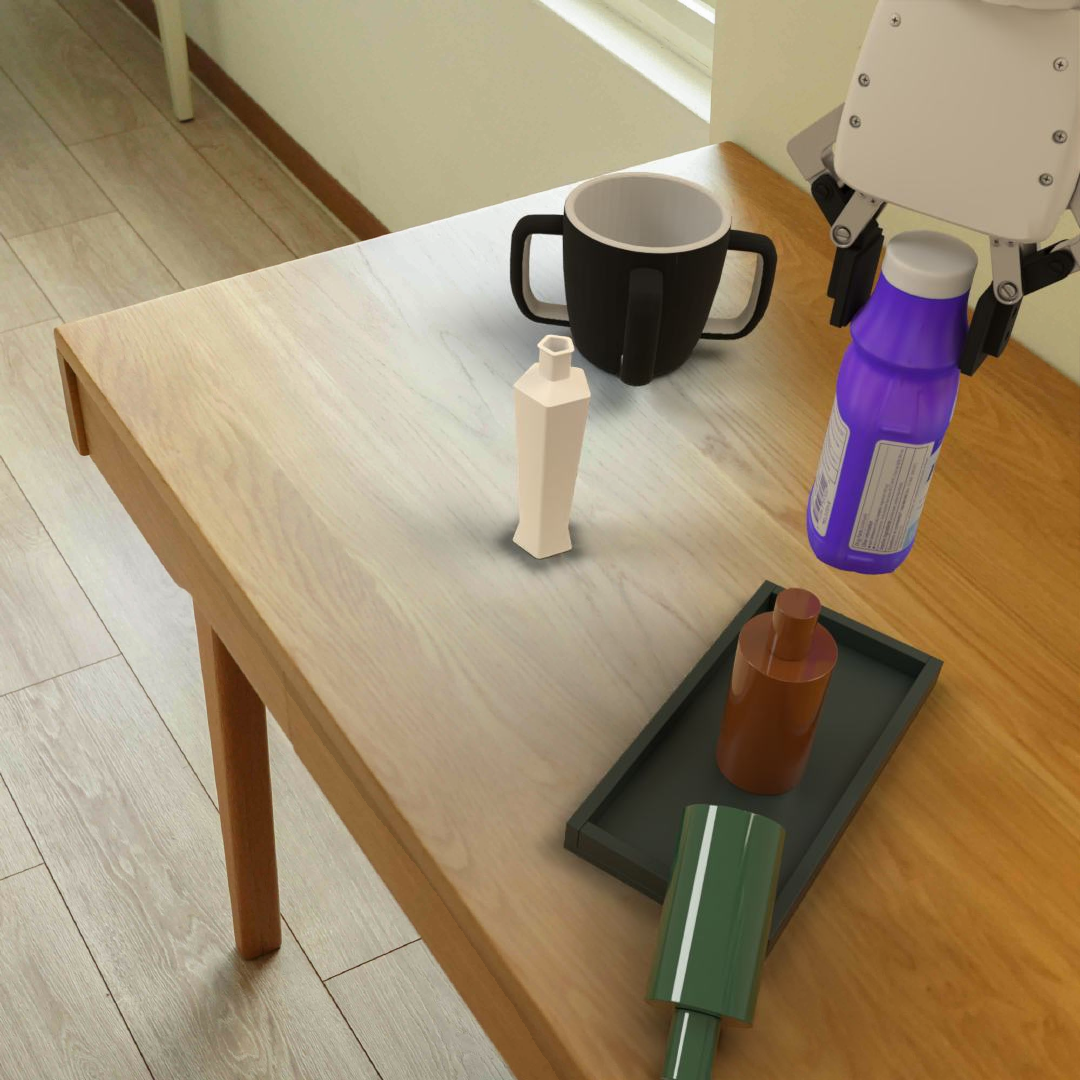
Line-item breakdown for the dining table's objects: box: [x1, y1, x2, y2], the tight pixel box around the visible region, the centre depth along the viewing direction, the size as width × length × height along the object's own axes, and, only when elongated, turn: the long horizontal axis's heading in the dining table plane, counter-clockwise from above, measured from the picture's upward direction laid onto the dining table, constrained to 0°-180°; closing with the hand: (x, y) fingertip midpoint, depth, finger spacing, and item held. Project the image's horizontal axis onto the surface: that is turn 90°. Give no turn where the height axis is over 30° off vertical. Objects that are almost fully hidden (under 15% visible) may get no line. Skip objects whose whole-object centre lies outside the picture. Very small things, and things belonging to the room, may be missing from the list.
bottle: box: [806, 229, 979, 576], centre depth 66 cm, size 7×6×17 cm
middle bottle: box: [715, 587, 838, 795], centre depth 70 cm, size 5×5×12 cm
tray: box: [563, 579, 945, 963], centre depth 74 cm, size 12×23×2 cm, turn 146°
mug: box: [509, 171, 778, 387], centre depth 101 cm, size 16×16×12 cm
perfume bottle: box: [512, 334, 592, 560], centre depth 83 cm, size 5×4×15 cm
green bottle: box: [643, 804, 787, 1080], centre depth 62 cm, size 5×5×12 cm
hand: (911, 334), depth 63 cm, fingers closed on bottle, 5 cm apart
